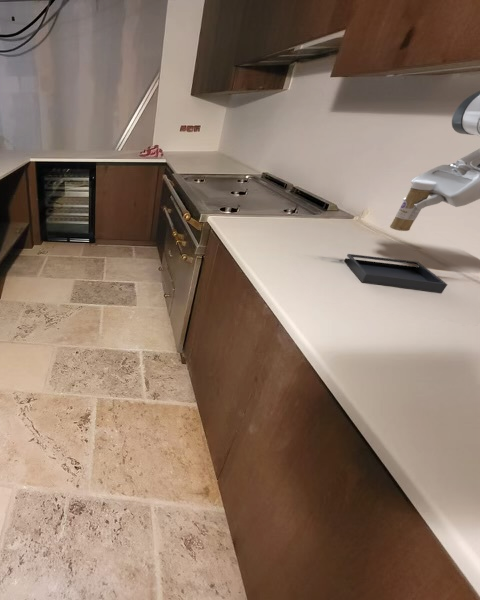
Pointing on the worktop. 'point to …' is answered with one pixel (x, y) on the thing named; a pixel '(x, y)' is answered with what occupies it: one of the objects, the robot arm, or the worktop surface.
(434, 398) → the worktop surface
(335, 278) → the worktop surface
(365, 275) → the tray
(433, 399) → the worktop surface
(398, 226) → the sprinkles bottle
